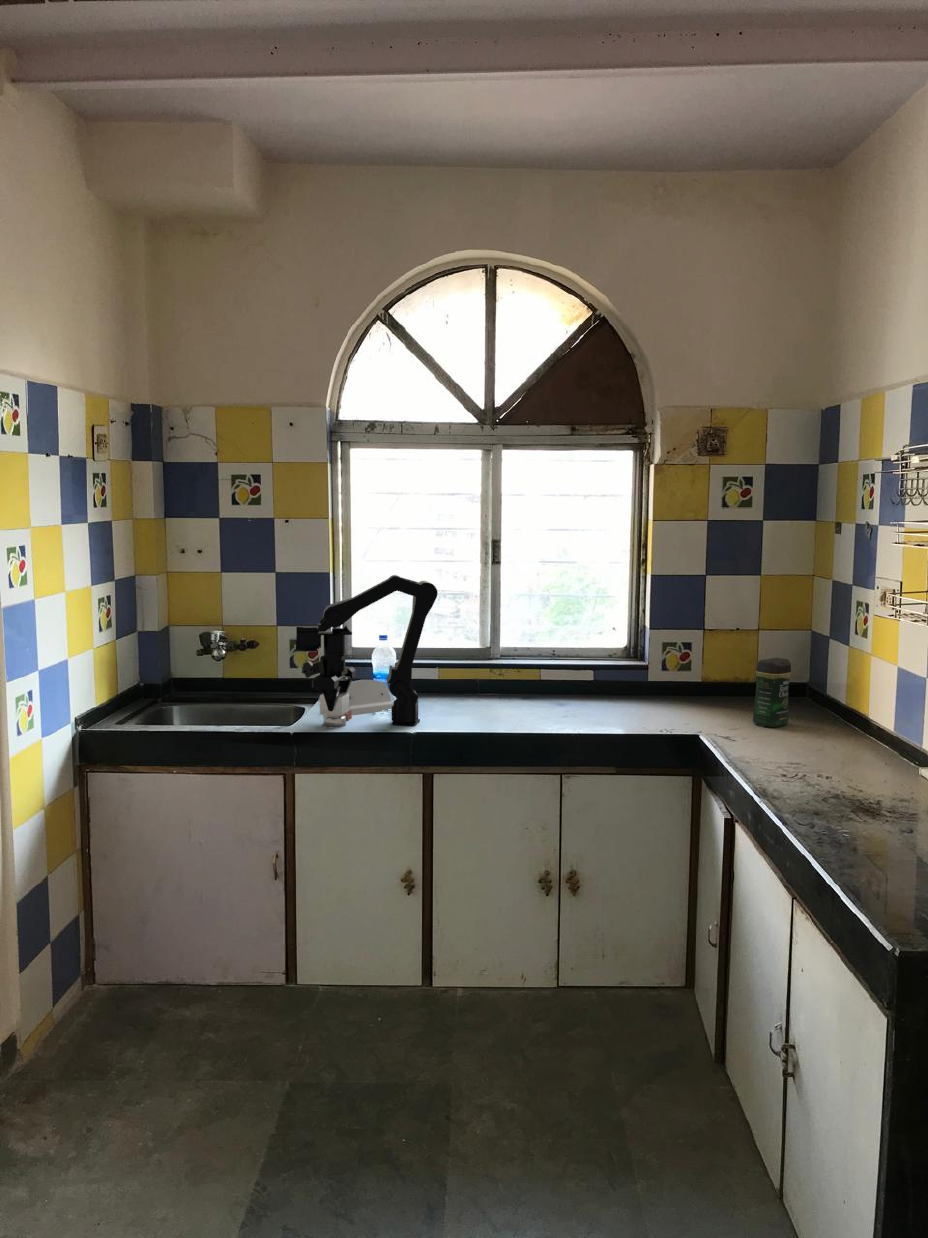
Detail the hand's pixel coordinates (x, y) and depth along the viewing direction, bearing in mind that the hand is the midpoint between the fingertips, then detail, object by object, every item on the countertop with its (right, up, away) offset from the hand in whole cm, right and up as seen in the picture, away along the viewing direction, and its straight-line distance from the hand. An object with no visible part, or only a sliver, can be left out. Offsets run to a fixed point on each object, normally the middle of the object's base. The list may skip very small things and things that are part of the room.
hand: (334, 708), depth 261 cm
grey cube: (0, -1, 0) cm, 1 cm away
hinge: (+6, -3, +19) cm, 20 cm away
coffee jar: (+120, -5, +7) cm, 120 cm away
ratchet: (+1, -4, +3) cm, 5 cm away
